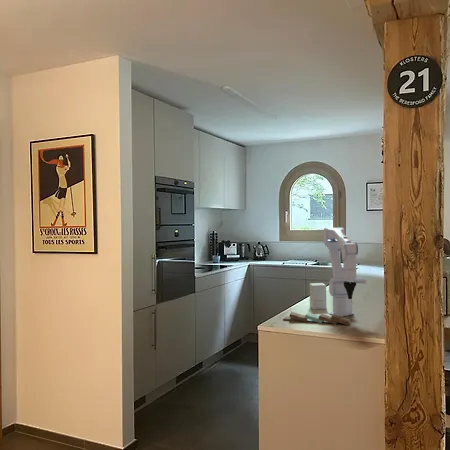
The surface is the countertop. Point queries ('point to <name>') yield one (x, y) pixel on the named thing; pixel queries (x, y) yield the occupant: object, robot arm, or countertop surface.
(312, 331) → the countertop surface
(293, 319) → the domino
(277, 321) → the countertop surface
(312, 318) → the domino
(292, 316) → the domino
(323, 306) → the supplement box
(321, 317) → the domino
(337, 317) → the brown flat rectangular block
